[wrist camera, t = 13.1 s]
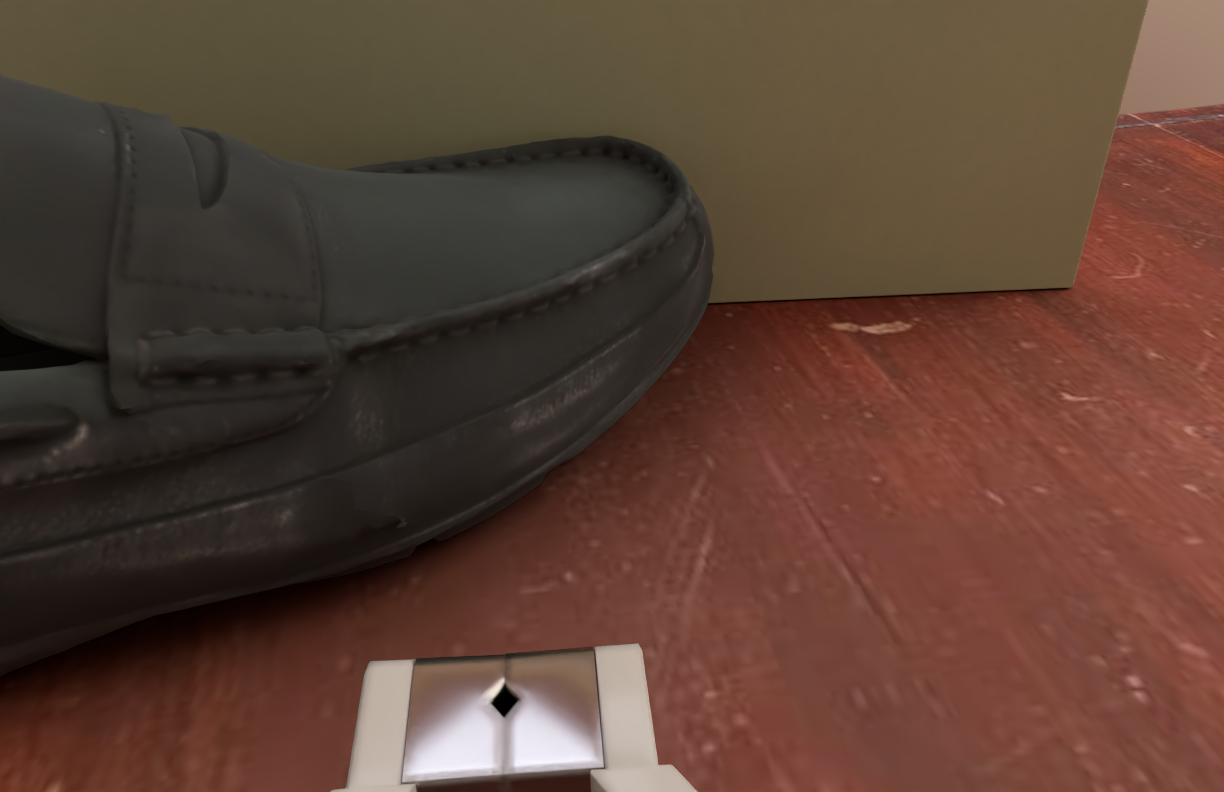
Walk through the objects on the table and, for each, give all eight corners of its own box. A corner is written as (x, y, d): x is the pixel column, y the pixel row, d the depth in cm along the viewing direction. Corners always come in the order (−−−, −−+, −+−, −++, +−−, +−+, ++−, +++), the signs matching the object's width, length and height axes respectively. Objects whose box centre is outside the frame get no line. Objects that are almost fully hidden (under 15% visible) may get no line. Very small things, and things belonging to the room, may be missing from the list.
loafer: (794, 394, 27) (839, -21, 21) (-999, 1377, 11) (-2644, 759, 6) (549, 264, 33) (533, -80, 28) (-796, 762, 18) (-1452, 198, 12)
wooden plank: (65, 335, 30) (-73, -73, 24) (84, 308, 31) (-42, -83, 25) (1076, 291, 32) (1180, -97, 26) (1053, 268, 33) (1147, -106, 27)
